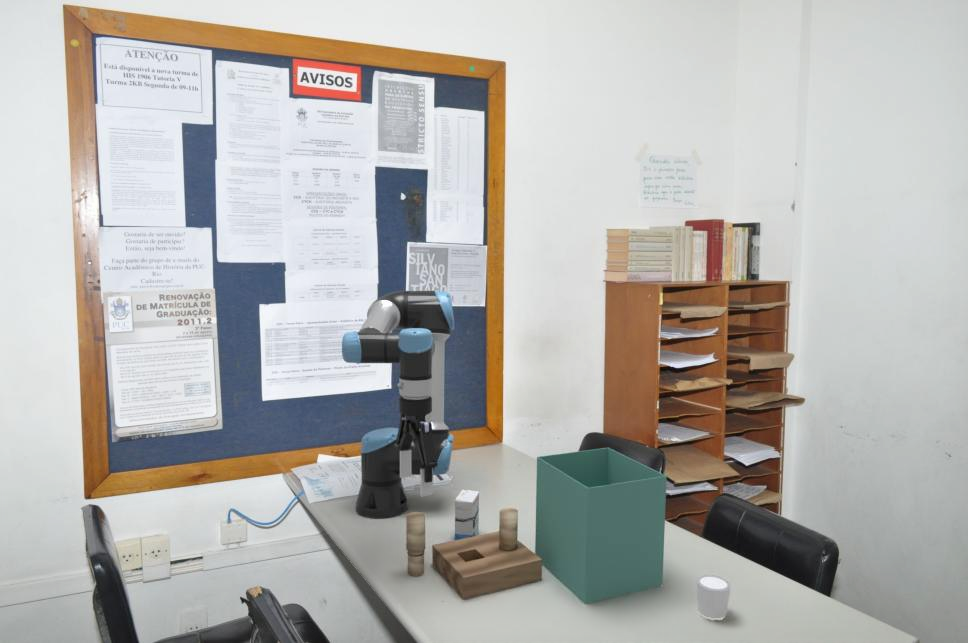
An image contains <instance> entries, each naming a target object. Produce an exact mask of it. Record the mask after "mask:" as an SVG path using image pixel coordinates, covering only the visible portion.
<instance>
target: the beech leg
mask: <svg viewBox="0 0 968 643" xmlns="http://www.w3.org/2000/svg"><path fill="white" fill-rule="evenodd" d="M405 517H406V520H405V521H406V524H405V525H406V528H405V529H406V532H405V533H406V534H405V535H406V540H405V541H406V544H405V546H406V552H407V575H408V576H410V577H420V576H423V575H424V574H425V549H426V514H425V513H424V512H419V511H413V512H410V513H407V514H406V516H405Z"/></svg>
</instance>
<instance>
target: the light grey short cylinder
mask: <svg viewBox="0 0 968 643" xmlns="http://www.w3.org/2000/svg"><path fill="white" fill-rule="evenodd" d="M695 582H696V598H697V599H696V600H697V612H698V611H699V612H700V613H701V614H702V615H704V616H706V617H711V618H721V617H724V616H725V615H726V616H727V612H728V605H729V601H730V600H729V599H730V594H731V586H732V585H731V583H730V581H728V580H727V579H725V578H723V577H721V576H716V575H709V574H706V575H705V574H704V575H700V576H698V577H697V578H696V581H695Z"/></svg>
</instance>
